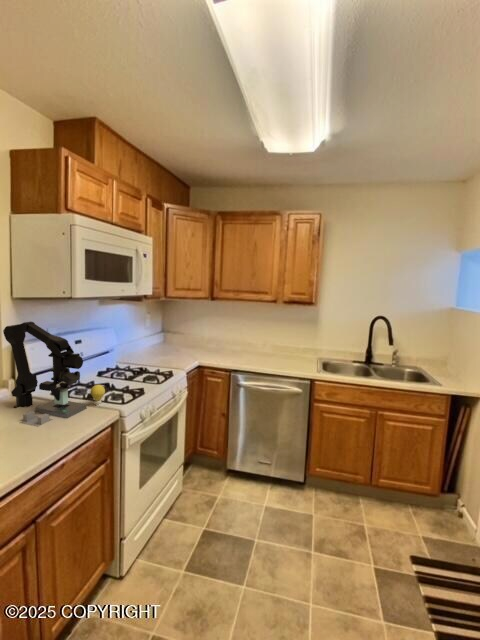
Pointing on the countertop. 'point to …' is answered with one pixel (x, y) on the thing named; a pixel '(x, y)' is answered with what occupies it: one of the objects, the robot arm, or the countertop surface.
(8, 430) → the countertop surface
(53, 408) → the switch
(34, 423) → the holster
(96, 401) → the light bulb
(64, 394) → the plug
